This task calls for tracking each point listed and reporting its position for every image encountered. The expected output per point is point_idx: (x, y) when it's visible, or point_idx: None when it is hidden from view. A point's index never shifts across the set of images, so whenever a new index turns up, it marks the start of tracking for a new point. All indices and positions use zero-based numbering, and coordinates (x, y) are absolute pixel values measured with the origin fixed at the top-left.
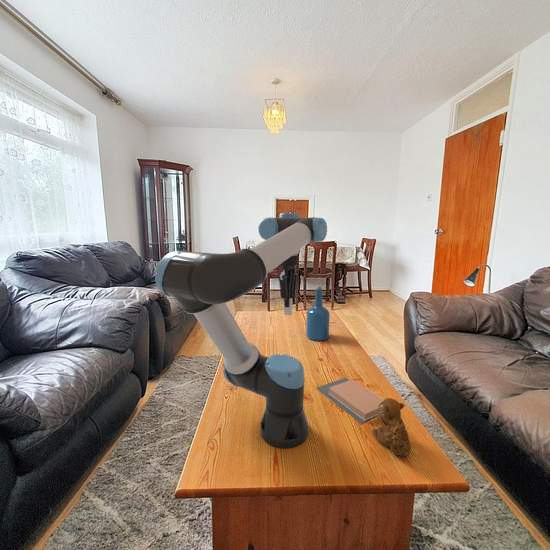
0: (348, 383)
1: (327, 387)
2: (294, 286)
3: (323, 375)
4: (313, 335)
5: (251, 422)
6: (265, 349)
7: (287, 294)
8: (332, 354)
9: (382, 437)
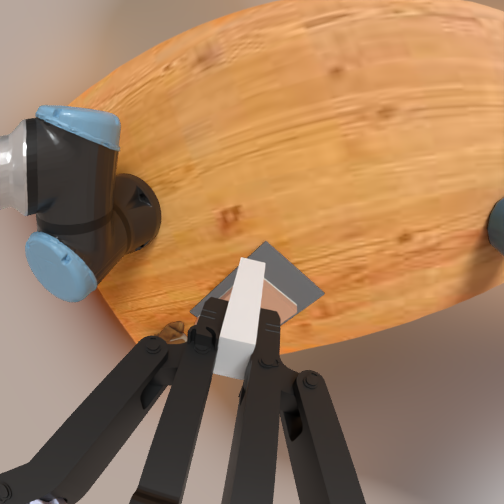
0: (279, 306)
1: (274, 264)
2: (292, 465)
3: (328, 251)
4: (497, 218)
5: (120, 153)
6: (433, 85)
7: (146, 397)
8: (428, 261)
9: (161, 334)
